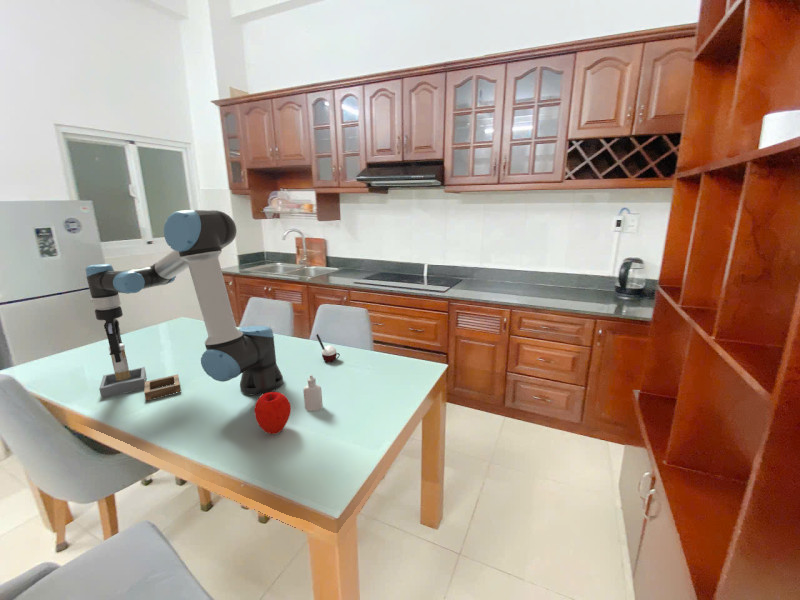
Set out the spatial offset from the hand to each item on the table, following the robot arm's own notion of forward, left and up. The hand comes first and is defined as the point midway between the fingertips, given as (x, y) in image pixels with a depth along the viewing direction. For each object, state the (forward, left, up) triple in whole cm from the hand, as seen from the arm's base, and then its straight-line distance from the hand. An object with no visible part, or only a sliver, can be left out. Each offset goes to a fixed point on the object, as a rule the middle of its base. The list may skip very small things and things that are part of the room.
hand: (121, 367), depth 133 cm
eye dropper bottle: (-58, -53, -8) cm, 79 cm away
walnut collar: (-13, -12, -8) cm, 19 cm away
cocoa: (-24, -73, -8) cm, 77 cm away
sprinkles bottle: (0, 0, -5) cm, 5 cm away
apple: (-63, -39, -8) cm, 75 cm away
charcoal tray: (0, 0, -8) cm, 8 cm away
